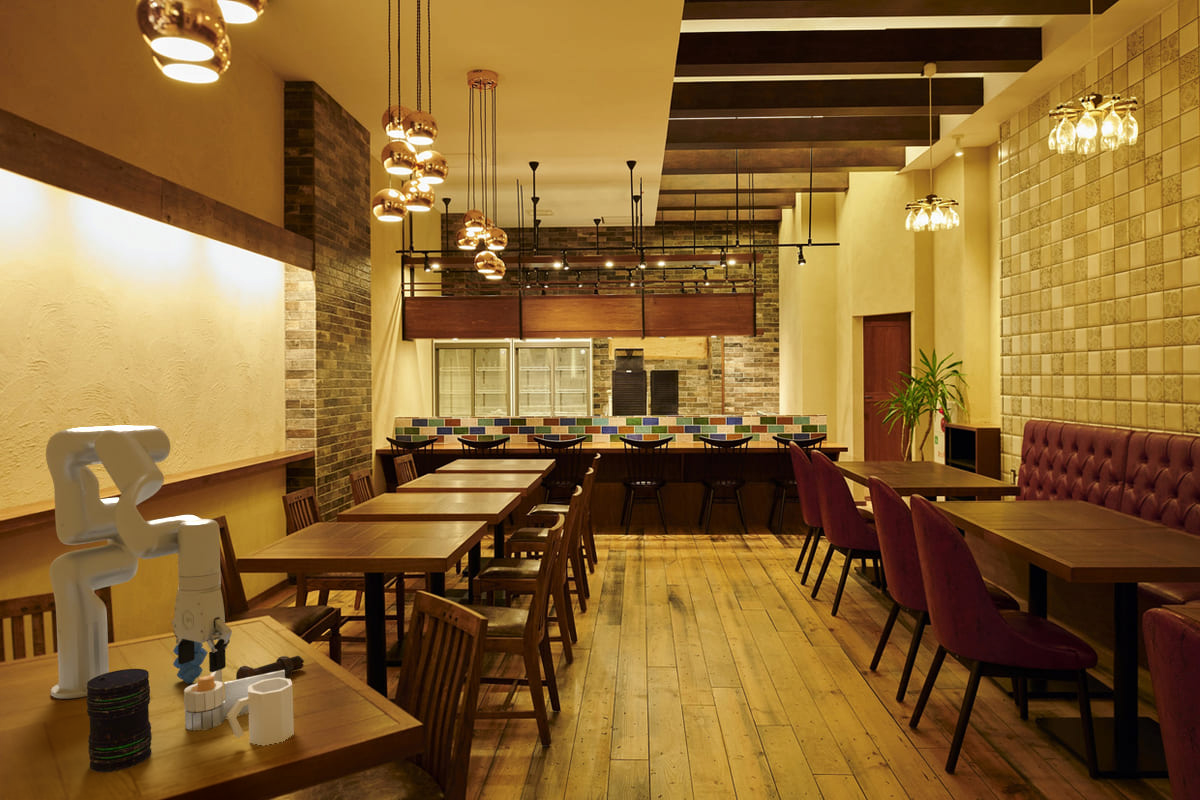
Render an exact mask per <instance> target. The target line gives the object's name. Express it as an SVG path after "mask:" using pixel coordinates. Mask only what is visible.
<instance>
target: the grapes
mask: <svg viewBox="0 0 1200 800" xmlns="http://www.w3.org/2000/svg"><path fill="white" fill-rule="evenodd" d="M178 645H179V644H177V643H176V645H175V646H174V648H173V650H172V652H173V653H174V654H175V655H176V656H177V657H176V658H175V660H174V661H173V663H172V665H173V666H174V667H175V668H176V669H179V670H178V672H177V674H176V676H177V678H179V679H180V680H183V682H184V683H186V684H188V685H189V684H190V683H191V684H193V682H195V681H196V679H198V678H200V676H201V675H202V672H203V668H202V667H201V665H202V664H203V662H204V661H205V659H206V657H207V655H208V654H209V653H208V651H207V650H206V649H205V648H204V647H203V646H204V643H199V642H194V654H195V659H194V660H193V661H190V662H187V663H184V664H179V663H178Z"/></svg>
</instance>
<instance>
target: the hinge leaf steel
mask: <svg viewBox="0 0 1200 800" xmlns="http://www.w3.org/2000/svg"><path fill="white" fill-rule="evenodd" d="M278 677H280V678H286V677H285V671H284V670H281V671H276V672H271V673H266V674H262V675H257V676H252V677H247V678H243V679H238V680H236V679H235V680H229V681H224V682H223V690H224V702H223V703H222V704H221V705H220V706H218V707H216V708H213V709H210V710H205V711H199V712H196V711H195V712H191V711H187V710H186V709H185V708H184V719H185V720H184V726H185V729H186V730H187V729H188V730H187V731H192V730H193V731H192V732H196V731H195V730H202V729H203V730H202V731H206V730H210V729H209V728H211V729H212V727H214V728H216V727H218V726H220V725H221V724H220V723H222V724H223V723H224V722H225V720H226V719H225V718H228V717H227V714H228V713H229V711H230V710H231V709H232V707H233V706H234V705H235V703H236V702H237V701H238V699H242V698H246V697H248V686H250V685H252V684H254V683H256V682H259V681H261V680H265V679H271V678H278ZM246 713H249V710H248V705H244V706H243V707H242V709H241V711H240V712H239V714H238V715H241V716H243V715H242V714H246ZM246 715H247V714H246ZM219 724H220V725H219ZM217 725H218V726H217ZM215 726H216V727H215ZM205 729H206V730H205Z"/></svg>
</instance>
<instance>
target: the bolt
mask: <svg viewBox="0 0 1200 800" xmlns="http://www.w3.org/2000/svg"><path fill="white" fill-rule="evenodd" d="M304 663H305V659H304V658H302V657H301V656H300V655H295V656H292V657H289V656H286V655H282V656H279V657H277V659H276V661H274V662H272V663H268V664H265V665H262V666H258V667H256V668H255V667H254V668H253V667H251V666H248V665H243V666H240V667H239V668H238V670H237V671H236V675H235V676H236V678H235V680H238V679H243V678H247V677H252V676H257V675H262V674H266V673H271V672H276V671H281V670H284V671H285V678H287V677H286V676H288V677H290V676H291V675H292V673H293V672H295V671H298V670H301V669H302V668H303V667H304V665H305V664H304ZM289 675H290V676H289Z"/></svg>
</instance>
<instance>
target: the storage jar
mask: <svg viewBox="0 0 1200 800" xmlns="http://www.w3.org/2000/svg"><path fill="white" fill-rule="evenodd" d="M149 677H150V674H149V671H148V670H146V669H143V668H126V669H118V670H114V671H109V673H105V674H102V675H99V676H97V677H95V678H93V679H91V680H90V681H88V683H87V690H88V691H87V696H86V706H87V709H86V712H87V716H88V717H89V733H90V734H89V735H88V740H87V742H88V755H89V760H90V762H89V769H90V771H93V772H95V773H113V772H118V771H123V770H126V769H131V768H132V767H133V768H134V767H135V766H138V765H139V764H142V763H143V762H146V761H147V760H146V759H149V758H150V757H151V756H152V748H151V745H152V737H153V735H152V724H151V721H150V716H149V715H150V714H149V704H150V703H151V696H150V694H151V686H150V680H149Z"/></svg>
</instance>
